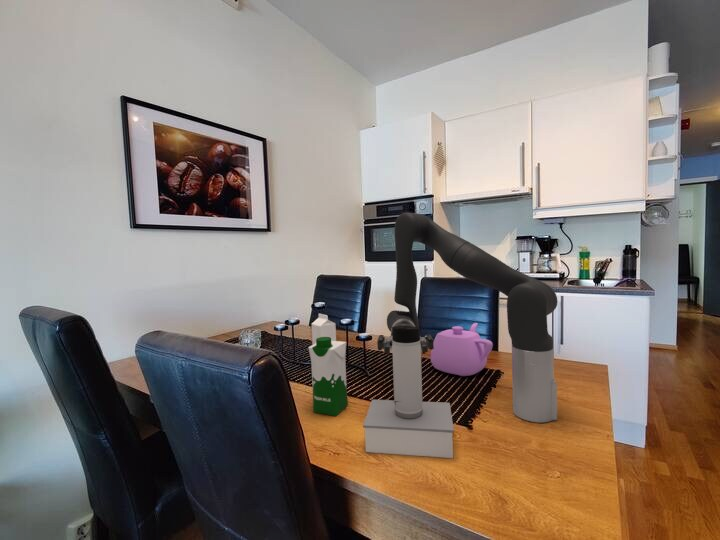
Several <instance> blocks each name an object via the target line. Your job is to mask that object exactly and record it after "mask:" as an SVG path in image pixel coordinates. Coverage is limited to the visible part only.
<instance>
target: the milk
mask: <svg viewBox="0 0 720 540" xmlns="http://www.w3.org/2000/svg"><path fill="white" fill-rule="evenodd" d="M336 327H337V326H336V322H333V321H331V320H330V319H329V317H328V315H327V314H323V313H318V317H317V318H316V319H315V320H314V321H313V322H311V338H312V345H314V344H316V339H317V338H320V337H330V338H331V341H337V331H336V330H337V328H336Z"/></svg>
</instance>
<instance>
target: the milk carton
mask: <svg viewBox="0 0 720 540" xmlns="http://www.w3.org/2000/svg"><path fill="white" fill-rule="evenodd" d="M346 350H347V341H341V340H336V341H331V338H330V337H320V338H317V339H316V344H314V345H313V344H311V345H310V346H308V352H309V357H310V362H311V380H312V381H311V382H312V383H311V385H312V405H313V406H312V407H313V411H312V412H313V413H315V414H316V413H317V414H320V415H321V414H323V415H327V416H333V417H337V416H338V415H339V414H340V413H341V412H342V411H343V410H344V409H345V408H346V407H347V406H348V405H349V402H348V401H349V400H348V391H347V390H348V389H347V370H346V367H347V366H346V353H347V351H346Z"/></svg>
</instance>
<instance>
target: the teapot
mask: <svg viewBox="0 0 720 540" xmlns="http://www.w3.org/2000/svg"><path fill="white" fill-rule="evenodd" d="M478 324H479V323H478V322H474V323H473V324H472V325H471V326H470V328H469V330H464V327H462V326H458V325H457V326H456V325H455V326H452V327H451V328H450V329H446V330H442V331H440V332H437V334H436V336H435V338H434V341H433V345H434V349H432V350H431V349H430V363H431V365H432V366H433V367H434V369H436V370H439V371H440V372H443V373H446V374H451V375H458V376H459V377H467V376H469V377H470V376H473V375H476V374H478V373H479V372H481V371H482V370H484V368H485V367H486V365H487V362H488V355H489V354H490V353H491V352H492V350H493V348H494V347H493V346H494V344H493V342H492V341H491V340H489V339H485V338H481V336H480V334H479V333H478V332H477V327H478Z"/></svg>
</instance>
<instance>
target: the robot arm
mask: <svg viewBox="0 0 720 540" xmlns="http://www.w3.org/2000/svg"><path fill="white" fill-rule="evenodd" d="M414 243H420V244H423V245H425V246H426V247H429V248H430V249H432V250H434V251H435V253H437V255H439V257H440V259H441V261H442V262H443V263H444V264H445V265H446V266H447V267H448V268H449V269H451V270H452V271H454V272H456V273H457V274H458V275H460V276H462V278H465V279H467V280H469V281H471V282H474V283H477V284H480V285H483V286H486V287H489V288H491V289H494V290H496V291H498V292H500V293H501V294H503V295H504V296H507V300H506V316H507V318H506V319H507V330H508V334H509V337H510V340H511V369H512V370H511V371H512V372H511V373H512V377H511V378H512V380H511V381H512V382H511V383H512V384H511V385H512V412H513V414H514V415H515V416H516V417H517V418H519V419H522V420H524V421H527V422H532V423H548V422H551V421H558V383H557V380H556V379H554V338H553V337H552V335H550V334H549V330H548V315H550V314H552V313H553V312H554V311H555V310H556V308H557V307H558V295H557V293H556V292H555V291H554V289H553V288H552V287H551V286H550V285H549V284H547V283H546V282H544V281H541V280H539V279H537V278H534V277H532V276H530V275H527V274H525V273H523V272H520V271H519V270H516V269H514V268H513V267H511V266H509V265H508V264H507V263H505V262H503V261H501V260H500V259H499V258H497V257H495V256H493V255H492V254H490V253H488V252H487V251H485V250H484V249H482V248H480V247H479V246H477V245H475V244H473V243H472V242H470V241H468V240H466V239H464V238H462V237H461V236H458V235H456V234H454V233H452V232H451V231H450V232H449V231H448V230H446V229H445V228H443V227H442V226H440V225H439V224H438V223H436V222H435V221H434V220H432V219H431V218H430V217H428V216H427V215H425V214H422V213H419V212H418V213H416V212H402V213H400V214H399V215H398V216H397V218H396V220H395V222H394V245H395V246H394V248H395V262H396V276H395V277H396V279H395V288H394V289H395V290H394V298H393V300H394V302H395V303H396V304H397V305H400V306H403V307H405V308H406V309H408V311H404V310H395V309H394V310H391V311H390V312H389V313H388V315H387V317H386V326H387V329H388V330H389V332H390V336H388V337H386V336H385V335H383V334H380V335H378V338H377V341H376V342H377V350H378V351H383V353H386V355H390V354H391V351H393V350H392V343H393V342H392V337H393V336H392V327H395V326H405V327H419V326H420V325H419V324H420V323H419V317H418V316H419V315H418V313H417V306H416V304H417V302H416V301H417V290H418V277H417V272H416V268H415V266H414V265H415V264H414V262H413V260H414V259H413V246H414ZM434 340H435V338H433V336H432V335H431V334H430V333H427V334H425V335H424V337H423V336H421V335H420V343H421V355H426V353H428V352H429V350H430V351H431V350H432V349H434V345H433V343H434Z"/></svg>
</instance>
